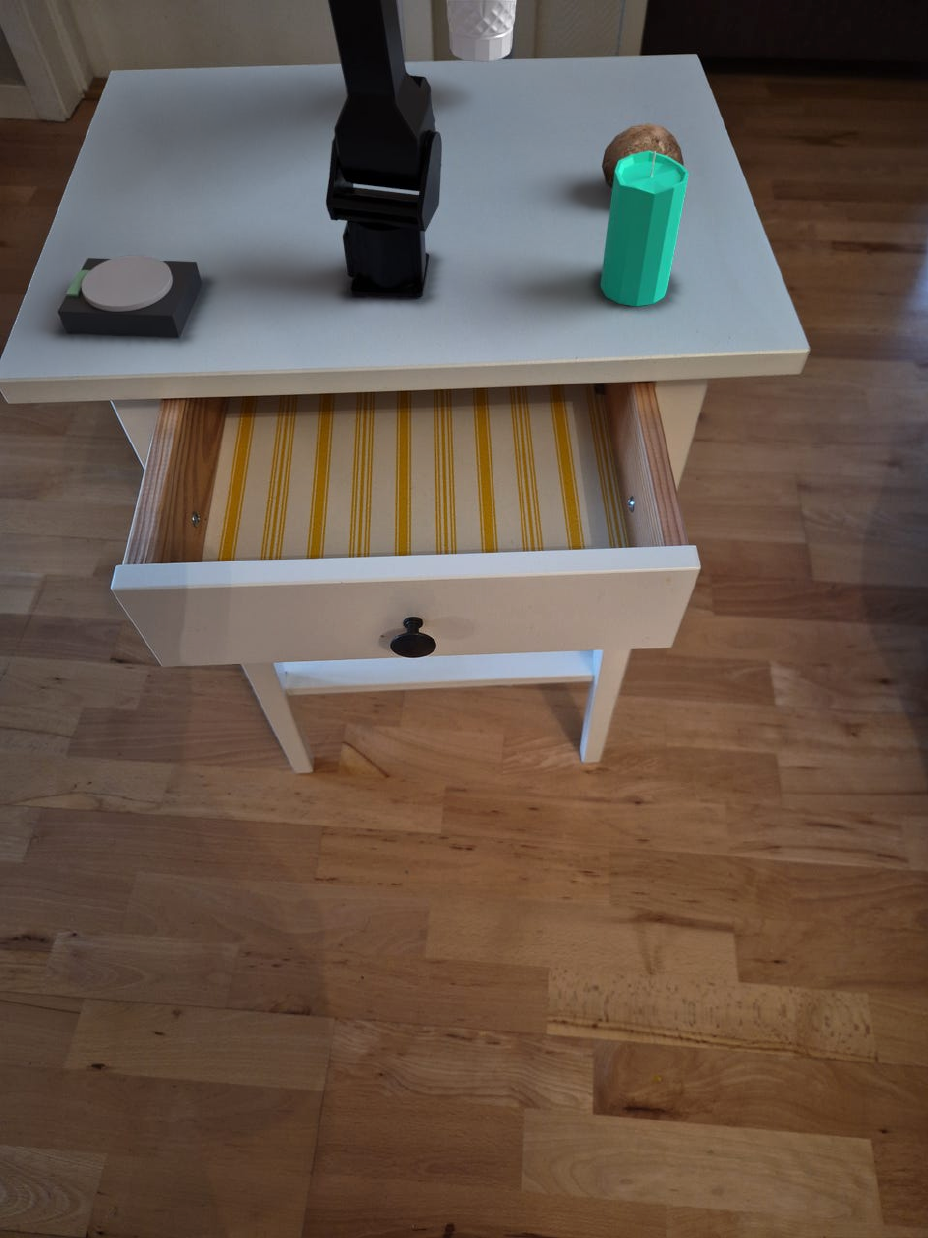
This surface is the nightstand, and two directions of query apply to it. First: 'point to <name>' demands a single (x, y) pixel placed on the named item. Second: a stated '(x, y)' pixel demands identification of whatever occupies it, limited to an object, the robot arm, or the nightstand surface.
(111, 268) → the scale
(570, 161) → the nightstand surface
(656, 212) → the candle
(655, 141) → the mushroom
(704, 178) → the nightstand surface
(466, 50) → the white cup
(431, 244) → the nightstand surface
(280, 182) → the nightstand surface
